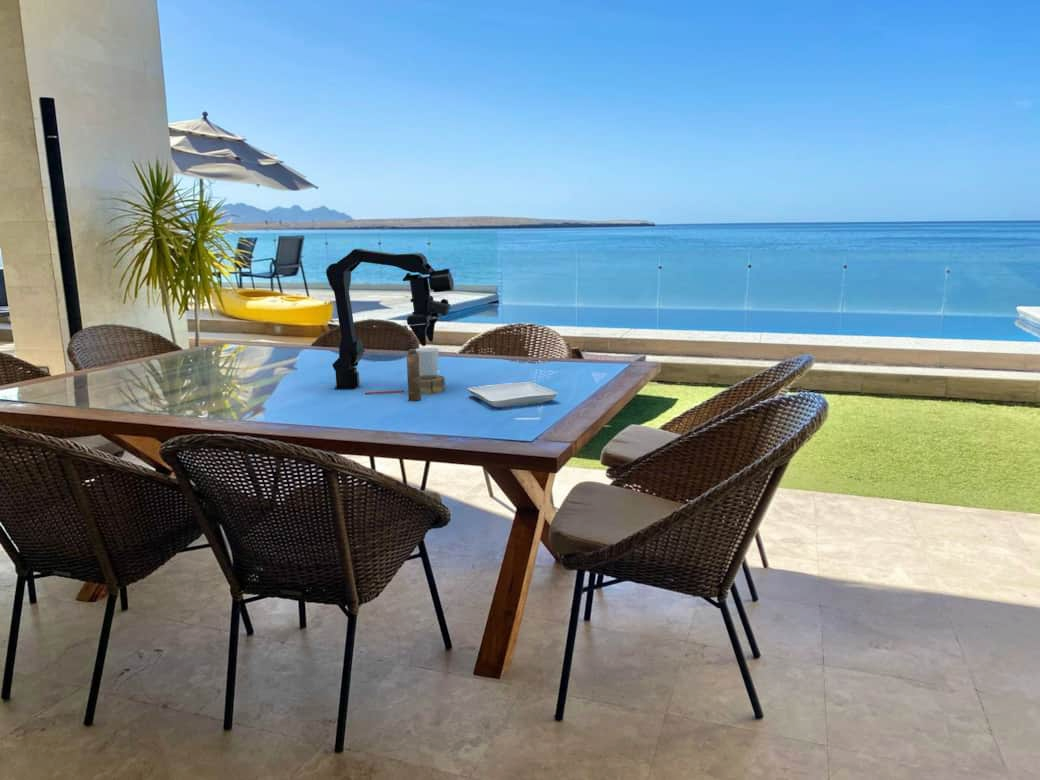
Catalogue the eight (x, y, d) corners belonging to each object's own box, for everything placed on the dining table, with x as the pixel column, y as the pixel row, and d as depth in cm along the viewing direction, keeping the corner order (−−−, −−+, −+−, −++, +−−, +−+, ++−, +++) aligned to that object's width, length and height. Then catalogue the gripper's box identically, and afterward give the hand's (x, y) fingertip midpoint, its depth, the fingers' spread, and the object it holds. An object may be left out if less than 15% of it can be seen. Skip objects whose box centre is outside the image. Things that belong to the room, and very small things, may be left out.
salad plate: (465, 397, 233) (465, 386, 232) (530, 391, 241) (530, 380, 241) (491, 412, 214) (491, 400, 213) (560, 404, 222) (560, 393, 222)
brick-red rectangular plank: (365, 394, 238) (364, 392, 238) (365, 393, 239) (365, 392, 239) (404, 392, 240) (404, 390, 240) (404, 391, 241) (404, 390, 241)
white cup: (435, 381, 257) (434, 351, 255) (412, 380, 259) (411, 350, 257) (442, 376, 265) (441, 347, 263) (420, 375, 266) (419, 347, 264)
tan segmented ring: (408, 394, 237) (407, 381, 237) (414, 387, 248) (413, 375, 247) (442, 394, 237) (441, 381, 236) (446, 387, 247) (445, 374, 246)
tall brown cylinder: (407, 401, 228) (405, 349, 225) (409, 398, 231) (407, 347, 228) (419, 401, 228) (417, 349, 225) (421, 398, 231) (419, 347, 228)
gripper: (439, 294, 229) (446, 345, 232) (452, 288, 247) (458, 336, 250) (403, 298, 231) (410, 349, 234) (418, 292, 249) (425, 340, 252)
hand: (427, 343), depth 243 cm, fingers open, 9 cm apart
